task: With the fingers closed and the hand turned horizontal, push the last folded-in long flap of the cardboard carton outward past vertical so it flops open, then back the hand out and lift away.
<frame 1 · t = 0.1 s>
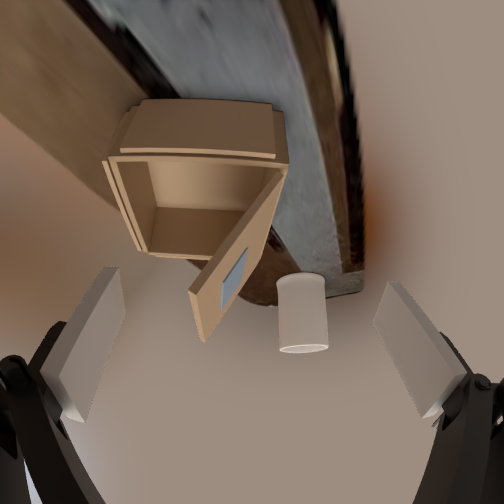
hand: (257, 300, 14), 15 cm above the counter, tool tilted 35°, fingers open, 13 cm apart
carton: (205, 166, 27), on the counter
mug: (301, 284, 53), on the counter
flap: (235, 272, 22), point 11 cm above the counter, hinge at 30.0°
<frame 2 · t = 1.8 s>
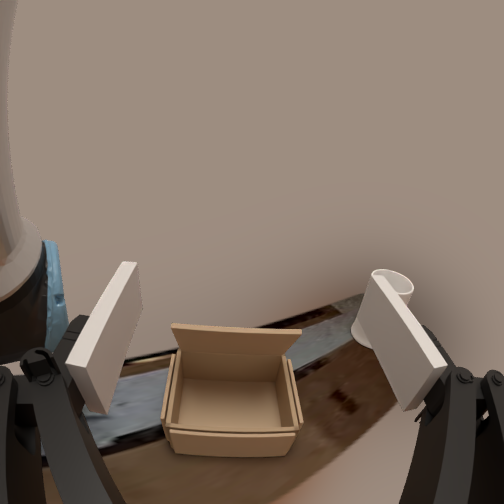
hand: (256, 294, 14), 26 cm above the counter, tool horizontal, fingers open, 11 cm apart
carton: (229, 413, 34), on the counter
mug: (377, 333, 52), on the counter
flap: (234, 342, 32), point 11 cm above the counter, hinge at 30.0°
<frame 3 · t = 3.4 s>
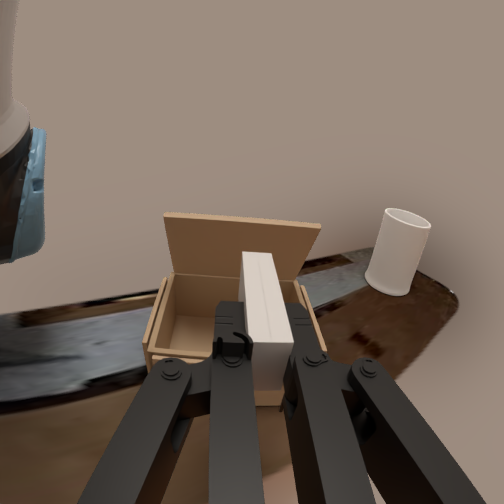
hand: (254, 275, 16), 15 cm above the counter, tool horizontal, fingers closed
carton: (231, 354, 30), on the counter
mug: (392, 282, 47), on the counter
flap: (238, 250, 28), point 11 cm above the counter, hinge at 30.0°
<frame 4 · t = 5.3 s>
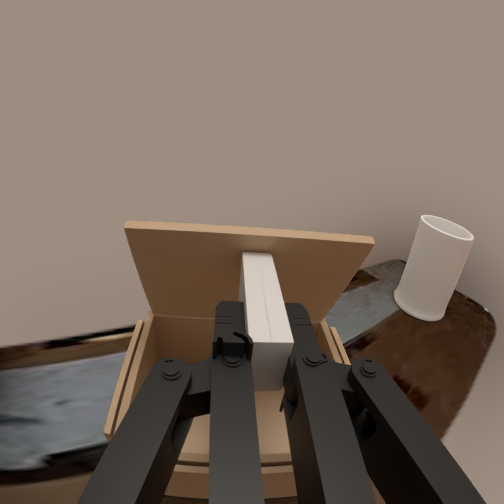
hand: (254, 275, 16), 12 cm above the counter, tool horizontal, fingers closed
carton: (235, 423, 20), on the counter
mug: (424, 302, 38), on the counter
flap: (245, 282, 18), point 11 cm above the counter, hinge at 25.3°, touching gripper
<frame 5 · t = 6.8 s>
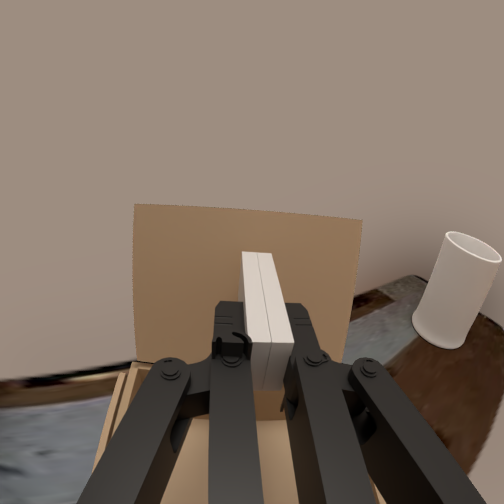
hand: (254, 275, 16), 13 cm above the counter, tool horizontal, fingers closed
carton: (237, 484, 15), on the counter
mug: (444, 326, 32), on the counter
flap: (245, 294, 17), point 11 cm above the counter, hinge at -18.7°, touching gripper
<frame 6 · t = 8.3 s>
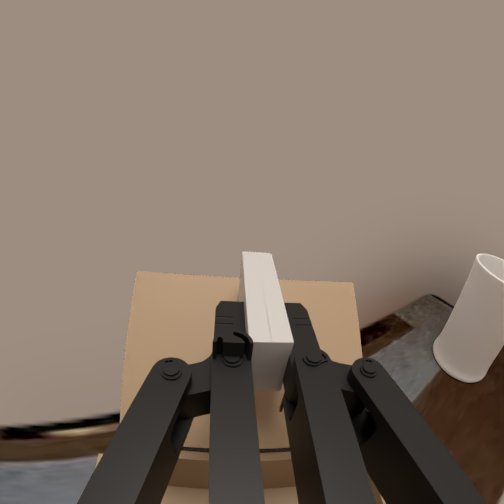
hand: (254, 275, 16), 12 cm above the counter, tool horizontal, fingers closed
mug: (465, 354, 27), on the counter
flap: (247, 361, 15), point 9 cm above the counter, hinge at -56.8°, touching gripper
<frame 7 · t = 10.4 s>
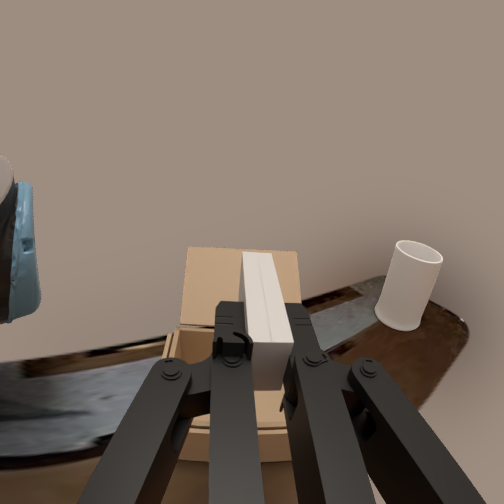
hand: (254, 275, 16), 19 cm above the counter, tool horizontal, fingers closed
carton: (240, 408, 27), on the counter
mug: (402, 314, 45), on the counter
flap: (242, 286, 33), point 9 cm above the counter, hinge at -56.9°
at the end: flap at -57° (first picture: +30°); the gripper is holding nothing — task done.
